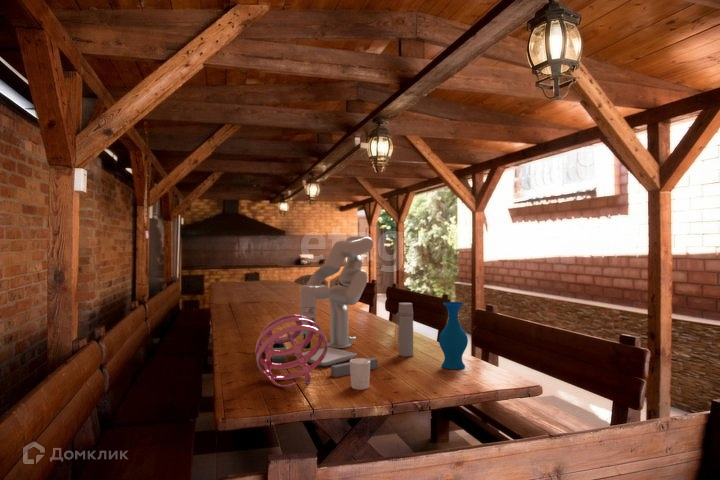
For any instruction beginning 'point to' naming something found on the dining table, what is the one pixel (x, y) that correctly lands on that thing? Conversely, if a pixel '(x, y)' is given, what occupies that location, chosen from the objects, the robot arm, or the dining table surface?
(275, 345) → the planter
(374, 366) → the rail
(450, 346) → the vase
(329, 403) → the dining table surface
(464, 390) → the dining table surface
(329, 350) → the salad plate
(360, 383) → the white cup
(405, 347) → the water bottle
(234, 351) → the dining table surface
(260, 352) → the spiral basket
